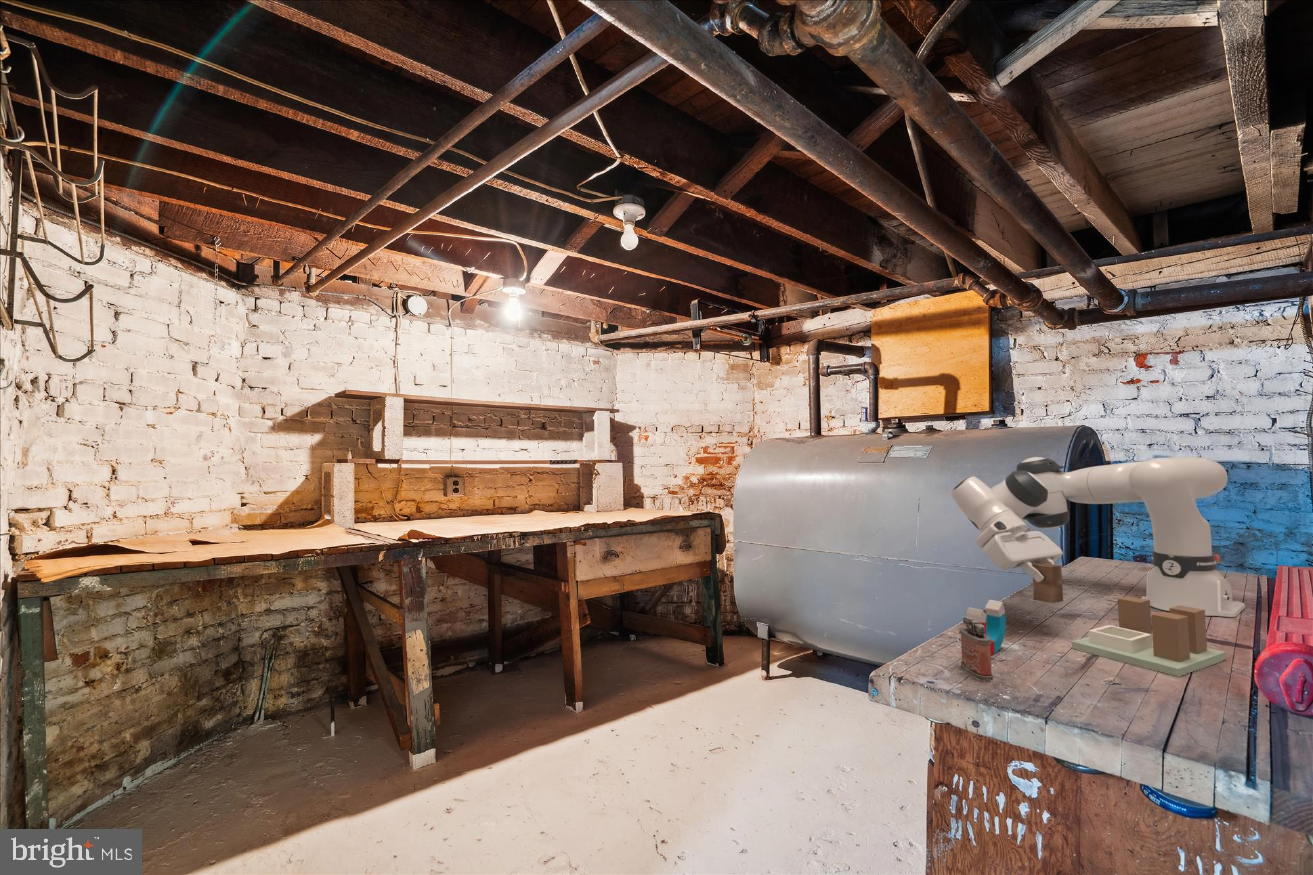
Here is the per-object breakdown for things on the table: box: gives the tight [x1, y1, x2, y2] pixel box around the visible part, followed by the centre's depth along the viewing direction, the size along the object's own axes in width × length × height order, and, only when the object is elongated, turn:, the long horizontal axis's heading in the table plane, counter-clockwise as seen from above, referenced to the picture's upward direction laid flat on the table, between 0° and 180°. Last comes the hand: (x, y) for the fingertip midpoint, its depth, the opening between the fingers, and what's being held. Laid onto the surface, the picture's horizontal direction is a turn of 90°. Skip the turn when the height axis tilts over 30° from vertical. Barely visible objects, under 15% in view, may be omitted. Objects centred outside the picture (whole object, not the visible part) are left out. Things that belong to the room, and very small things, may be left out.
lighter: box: [959, 615, 994, 682], centre depth 109 cm, size 8×3×10 cm, turn 179°
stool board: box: [1071, 595, 1227, 678], centre depth 116 cm, size 18×18×10 cm
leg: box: [1032, 563, 1064, 604], centre depth 130 cm, size 4×4×8 cm
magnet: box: [965, 599, 1007, 655], centre depth 119 cm, size 12×3×10 cm, turn 126°
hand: (1050, 578), depth 129 cm, fingers closed on leg, 4 cm apart
